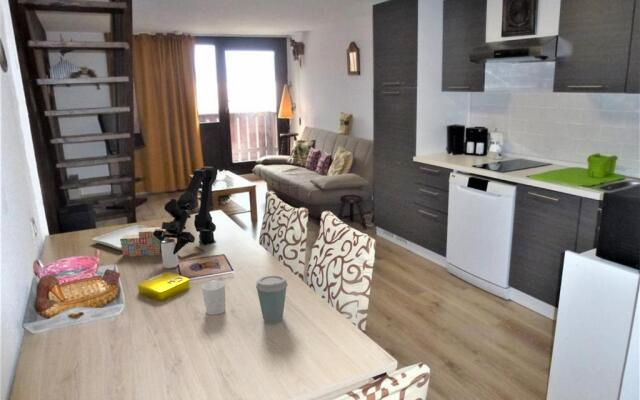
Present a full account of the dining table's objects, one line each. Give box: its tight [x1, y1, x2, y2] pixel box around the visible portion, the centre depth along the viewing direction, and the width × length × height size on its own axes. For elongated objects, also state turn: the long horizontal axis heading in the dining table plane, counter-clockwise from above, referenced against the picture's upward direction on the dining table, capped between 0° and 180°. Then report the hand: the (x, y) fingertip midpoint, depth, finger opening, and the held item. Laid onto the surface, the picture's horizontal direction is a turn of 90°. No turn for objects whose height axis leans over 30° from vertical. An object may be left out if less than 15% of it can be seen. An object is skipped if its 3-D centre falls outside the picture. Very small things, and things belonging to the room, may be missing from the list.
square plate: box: [91, 224, 151, 251], centre depth 242 cm, size 27×27×4 cm
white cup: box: [201, 280, 226, 316], centre depth 163 cm, size 8×8×10 cm
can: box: [161, 238, 179, 269], centre depth 204 cm, size 6×6×12 cm
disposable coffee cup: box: [255, 274, 288, 325], centre depth 155 cm, size 11×11×15 cm
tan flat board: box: [177, 245, 206, 260], centre depth 220 cm, size 12×8×1 cm, turn 132°
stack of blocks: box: [120, 226, 170, 257], centre depth 221 cm, size 21×6×12 cm, turn 91°
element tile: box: [137, 271, 191, 303], centre depth 181 cm, size 15×15×5 cm
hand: (167, 253), depth 203 cm, fingers closed on can, 6 cm apart
